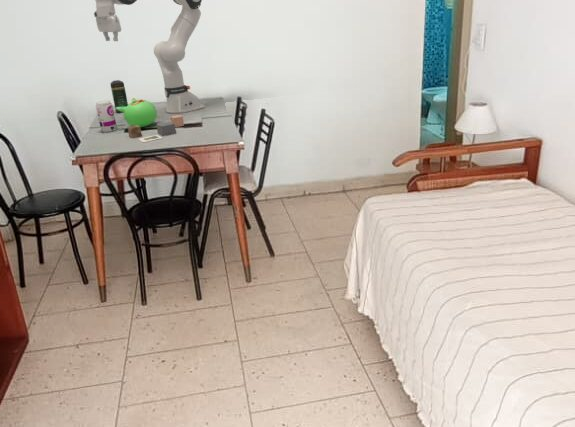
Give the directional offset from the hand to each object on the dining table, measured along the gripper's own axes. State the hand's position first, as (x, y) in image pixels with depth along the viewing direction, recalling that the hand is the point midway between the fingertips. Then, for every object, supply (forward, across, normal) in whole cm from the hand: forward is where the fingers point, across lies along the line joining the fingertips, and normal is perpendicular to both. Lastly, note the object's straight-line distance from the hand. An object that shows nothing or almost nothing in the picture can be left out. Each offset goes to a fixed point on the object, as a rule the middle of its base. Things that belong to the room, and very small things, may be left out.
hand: (111, 41), depth 273 cm
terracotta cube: (+43, -33, -12) cm, 56 cm away
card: (+43, -44, +10) cm, 62 cm away
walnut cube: (+44, -32, +12) cm, 55 cm away
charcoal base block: (+44, -42, 0) cm, 60 cm away
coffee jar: (+44, +32, -12) cm, 55 cm away
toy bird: (+44, -16, 0) cm, 46 cm away
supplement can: (+44, -7, +14) cm, 47 cm away
